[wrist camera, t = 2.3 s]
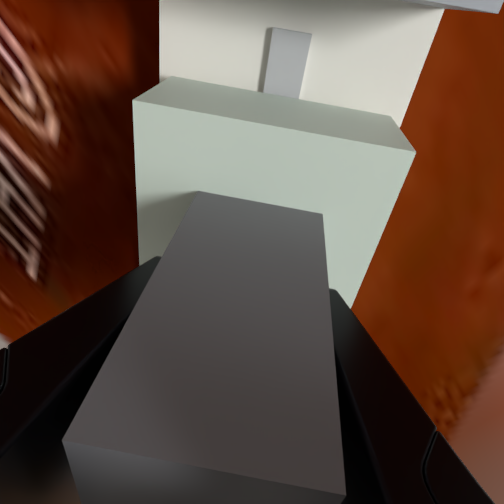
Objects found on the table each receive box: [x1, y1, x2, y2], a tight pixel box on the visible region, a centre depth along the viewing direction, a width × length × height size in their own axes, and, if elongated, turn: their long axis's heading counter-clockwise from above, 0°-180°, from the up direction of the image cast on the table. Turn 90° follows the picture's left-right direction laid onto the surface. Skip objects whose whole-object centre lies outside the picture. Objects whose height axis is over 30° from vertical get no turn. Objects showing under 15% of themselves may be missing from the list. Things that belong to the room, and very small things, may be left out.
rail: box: [159, 0, 504, 128], centre depth 14 cm, size 26×7×7 cm, turn 172°
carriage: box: [62, 76, 416, 504], centre depth 8 cm, size 6×6×9 cm
